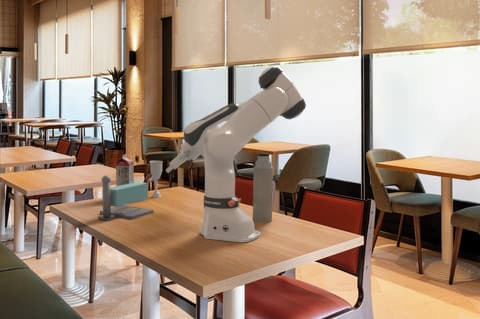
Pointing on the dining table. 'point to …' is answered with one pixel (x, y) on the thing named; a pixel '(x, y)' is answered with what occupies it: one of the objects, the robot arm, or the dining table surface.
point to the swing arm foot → (106, 218)
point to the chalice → (156, 175)
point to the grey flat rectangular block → (129, 212)
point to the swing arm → (122, 194)
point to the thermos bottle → (262, 189)
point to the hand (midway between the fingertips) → (167, 171)
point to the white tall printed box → (124, 171)
